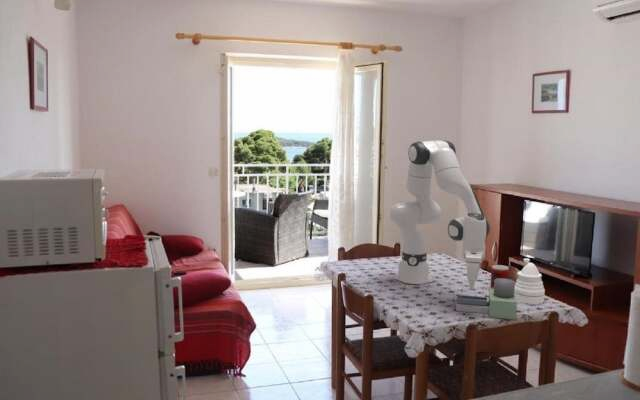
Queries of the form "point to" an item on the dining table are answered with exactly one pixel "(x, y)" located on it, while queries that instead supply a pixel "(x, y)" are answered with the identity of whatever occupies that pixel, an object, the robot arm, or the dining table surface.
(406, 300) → the dining table surface
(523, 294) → the honey pot
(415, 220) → the robot arm
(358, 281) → the dining table surface
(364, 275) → the dining table surface
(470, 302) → the chute
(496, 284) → the green base with cylinder
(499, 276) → the canned food
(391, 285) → the dining table surface
